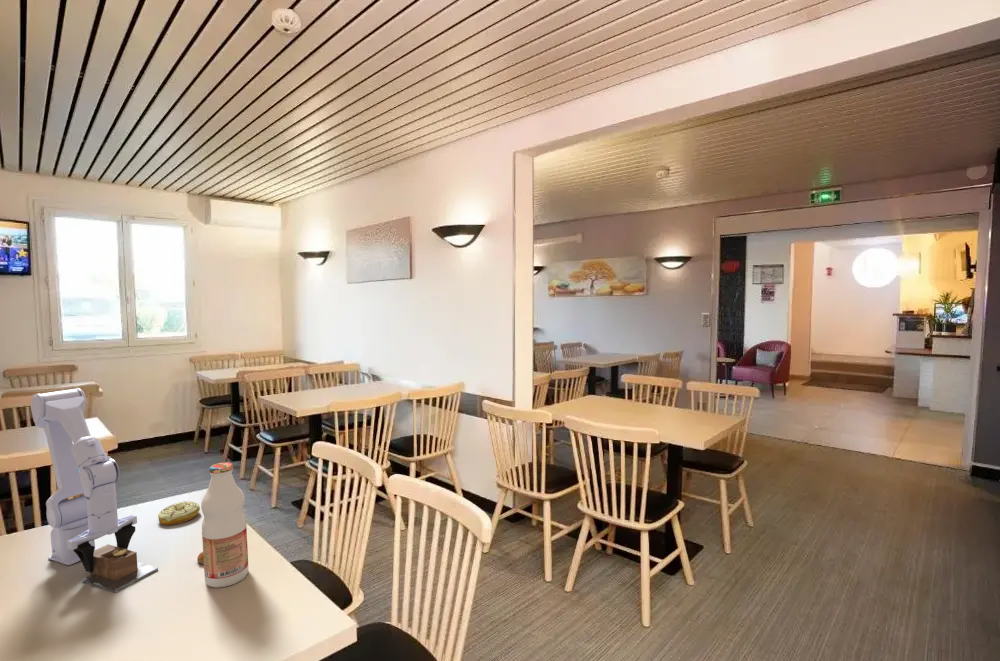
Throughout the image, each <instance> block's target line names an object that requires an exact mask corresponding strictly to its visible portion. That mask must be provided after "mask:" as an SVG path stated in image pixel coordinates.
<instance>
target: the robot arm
mask: <svg viewBox="0 0 1000 661" xmlns="http://www.w3.org/2000/svg"><path fill="white" fill-rule="evenodd" d="M30 401H31V402H30V410H31V415H32V420H33V422H34V425H35V427H37V428H42V429H43V431H44V434H45V437H46V441H47V445H48V451H49V455H50V459H51V462H52V464H51V465H52V467H53V468H52V469H53V472H54V477H55V482H56V487H57V489H56V491H55V492H54V493H53V494H52V495H50V497H49V498H48V499H47V500H46V502H45V506H46V513H45V514H46V519H47V523H48V525H49V526H50V527H51V528H52V529H51V532H50V544H51V555H49V556H47V558H48V559H49V560H52V561H54V562H57V563H61V564H63V565H67V566H72V565H74V564H76V563H78V562H80V561H81V563H82V566H83V568H84V571H85V572H86V573H90V574H92V573H91V572H93V571H94V562H93V555H94V550H96V549H98V548H100V547H98V546H96V544H95V540H97V539H99V538H102V537H104V536H106V535H112V534H114V536H115V541H116V547H120V548H125V549H127V550H129V546H130V542H131V540H132V537H133V536H134V534H135V533H136V524H138V518H137V515H134V514H131V515H127V516H125V517H122V518H118V517H119V516H118V504H117V492H116V490H117V489H116V483H117V482H118V481H119V479H120V475H121V474H120V468H119V465H118V462H116V460H115V459H114V458H112V457H111V456H110V455H109V456H108V455H107V453H106V450H104V447H103V444H102V443H101V441H100V439H99V438H97V437H95V436H94V437H93V436H92V435H91V433H90V429H89V427H88V424H87V422H86V418H85V416H84V414H85V410H86V405H87V397H86V394H85V391H83V389H81V388H80V387H75V388H73V389H65V390H56V391H51V392H43V393H35V394H34V395H33V396H32V398H31V400H30ZM79 495H80V496H79ZM75 496H76V497H75ZM72 497H73V498H72ZM68 498H69V499H68ZM70 498H71V499H70ZM65 499H67V500H65ZM134 525H135V526H134Z"/></svg>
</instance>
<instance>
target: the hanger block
mask: <svg viewBox="0 0 1000 661" xmlns="http://www.w3.org/2000/svg"><path fill="white" fill-rule="evenodd" d="M117 549H120V547H117V545H112V544H106V545H104V546H101V547H99V548H98V549H96V550H94V555H93V562H94V571H93V572H91V573H90V574H92V575H93V574H96V575H99V576H102V577H105V578H108V579H111V580H114V581H117V580H119V579H121V578H123V577H125V576H127V575H129V574H131V573H133V572H135V571H137V570H138V566H137V562H138V553H137V552H136V551H133V550H129V549H126V554H125V555H123V557H122V558H120V559H117V558H116V557H113V551H115V550H117Z"/></svg>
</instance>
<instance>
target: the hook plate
mask: <svg viewBox="0 0 1000 661" xmlns="http://www.w3.org/2000/svg"><path fill="white" fill-rule="evenodd" d="M125 554H126V549H125V548H120V549H117V550H115V551H113V557H116V558H117V559H120V558H122V557H123V555H125ZM137 566H138V570H137V571H135V572H133V573H131V574H129V575H127V576H125V577H123V578H121V579H119V580H117V581H114V580H111V579H108V578H105V577H102V576H99V575H96V574H93V573H92V574H90V575H89V576H88V577H85V578H82V583H86V584H87V585H91V586H93V587H97V588H99V589H102V590H105V591H109V592H111V593H117V592H119V591H121V590H123V589H124V588H127V587H128V586H130V585H132V584H134V583H137V582H138V581H140V580H143V579H144V578H146V577H148V576H149V575H152V574H153V573H156V572H157V571H159V568H158V567H156V566H153V565H150V564H145V563H143V562H140V561H137Z"/></svg>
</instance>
